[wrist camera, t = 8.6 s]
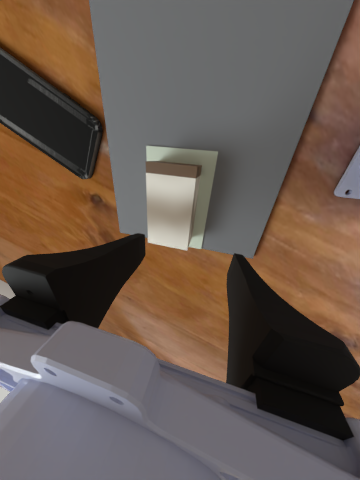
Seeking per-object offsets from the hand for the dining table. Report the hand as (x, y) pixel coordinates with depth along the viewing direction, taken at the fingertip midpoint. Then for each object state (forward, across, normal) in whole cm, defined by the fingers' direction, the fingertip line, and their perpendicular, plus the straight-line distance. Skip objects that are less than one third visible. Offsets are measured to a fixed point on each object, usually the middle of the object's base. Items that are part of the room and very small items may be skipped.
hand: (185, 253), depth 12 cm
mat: (+9, +2, -7) cm, 12 cm away
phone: (+10, +21, -9) cm, 25 cm away
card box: (+8, +3, -2) cm, 9 cm away
